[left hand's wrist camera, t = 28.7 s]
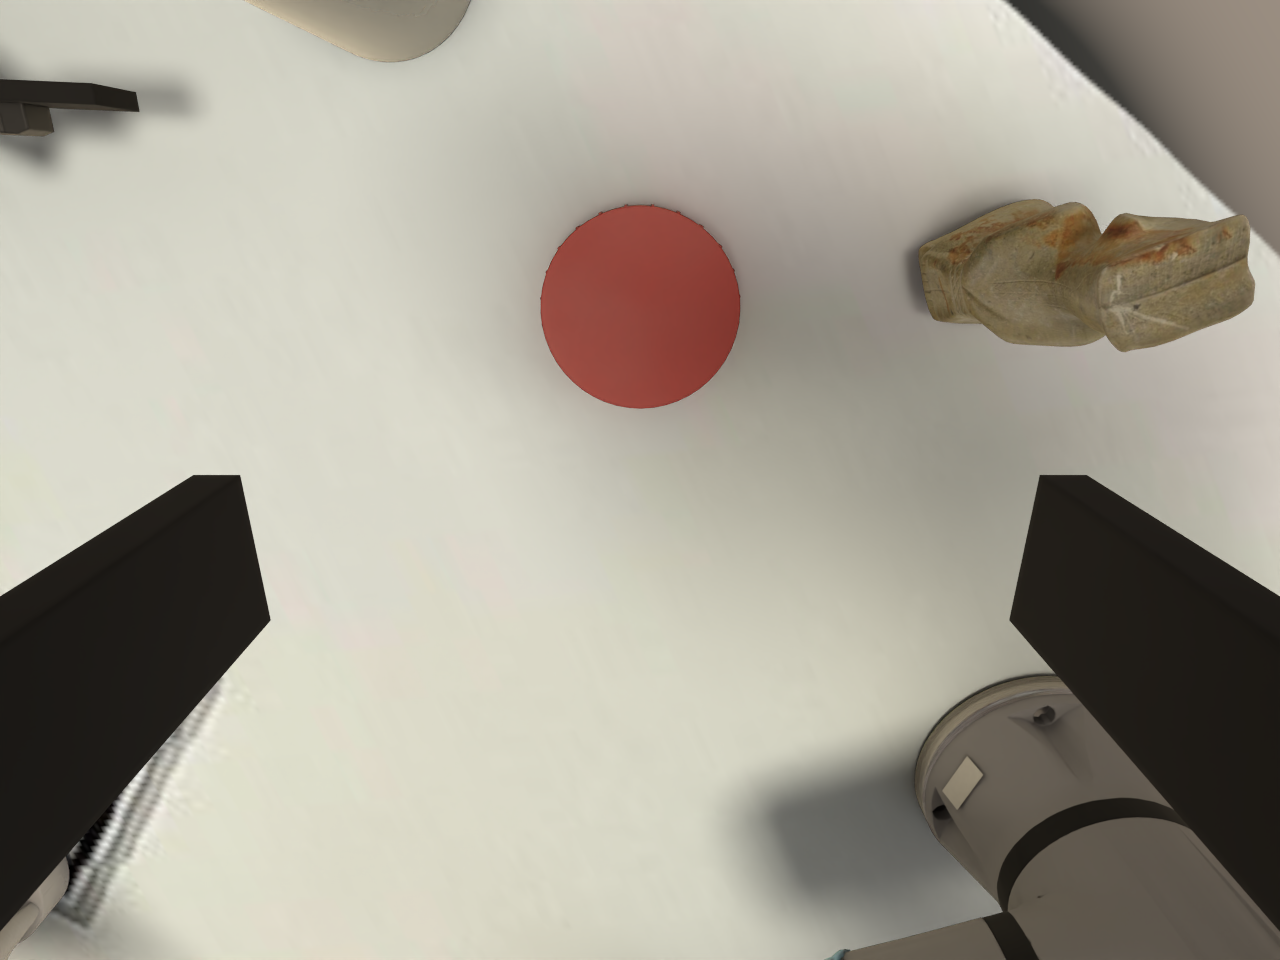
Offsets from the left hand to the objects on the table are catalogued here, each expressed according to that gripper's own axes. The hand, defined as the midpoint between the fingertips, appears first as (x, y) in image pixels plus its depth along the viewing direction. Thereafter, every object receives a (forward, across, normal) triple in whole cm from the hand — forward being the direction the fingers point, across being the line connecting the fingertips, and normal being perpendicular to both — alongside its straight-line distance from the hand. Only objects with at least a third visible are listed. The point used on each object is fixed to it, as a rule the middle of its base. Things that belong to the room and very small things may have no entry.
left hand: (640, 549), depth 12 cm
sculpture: (+29, -17, -2) cm, 34 cm away
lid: (+27, 0, 0) cm, 27 cm away
